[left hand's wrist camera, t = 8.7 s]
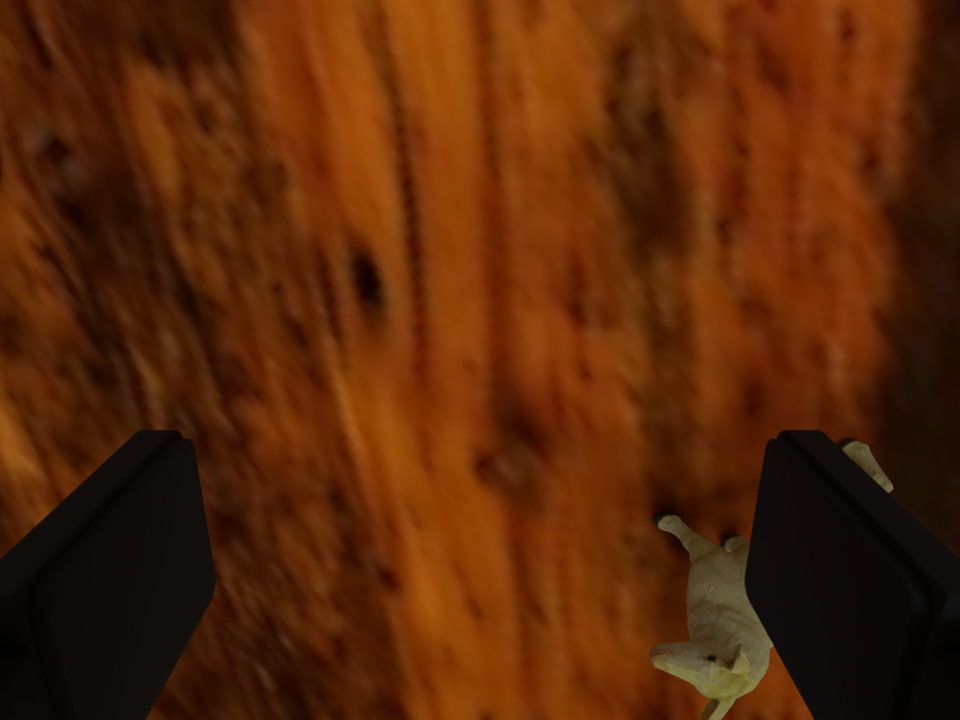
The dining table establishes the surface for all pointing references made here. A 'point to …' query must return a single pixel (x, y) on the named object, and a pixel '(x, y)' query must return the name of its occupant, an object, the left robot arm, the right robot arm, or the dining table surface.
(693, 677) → the toy
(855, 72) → the dining table surface
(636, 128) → the dining table surface
